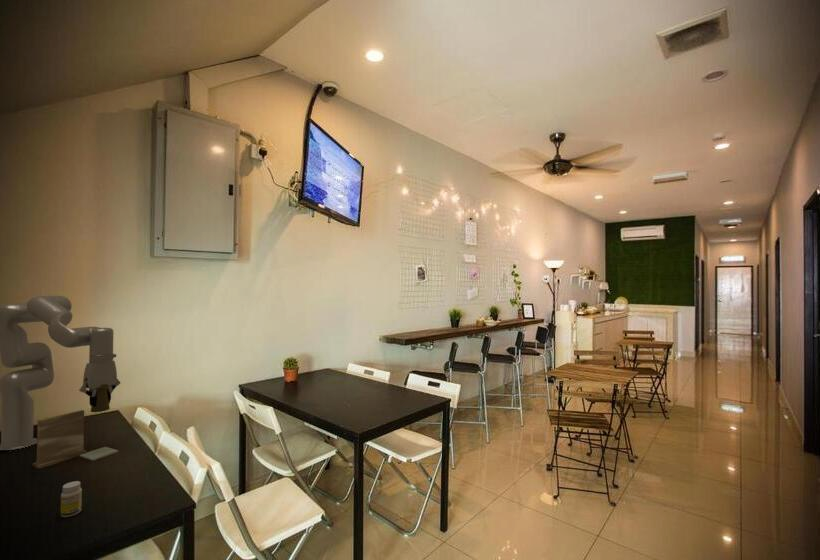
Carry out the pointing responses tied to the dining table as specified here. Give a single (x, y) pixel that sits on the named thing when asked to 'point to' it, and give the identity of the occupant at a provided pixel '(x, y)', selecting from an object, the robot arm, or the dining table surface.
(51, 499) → the dining table surface
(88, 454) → the coaster
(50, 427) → the wooden board
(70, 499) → the supplement bottle
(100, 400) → the cork
